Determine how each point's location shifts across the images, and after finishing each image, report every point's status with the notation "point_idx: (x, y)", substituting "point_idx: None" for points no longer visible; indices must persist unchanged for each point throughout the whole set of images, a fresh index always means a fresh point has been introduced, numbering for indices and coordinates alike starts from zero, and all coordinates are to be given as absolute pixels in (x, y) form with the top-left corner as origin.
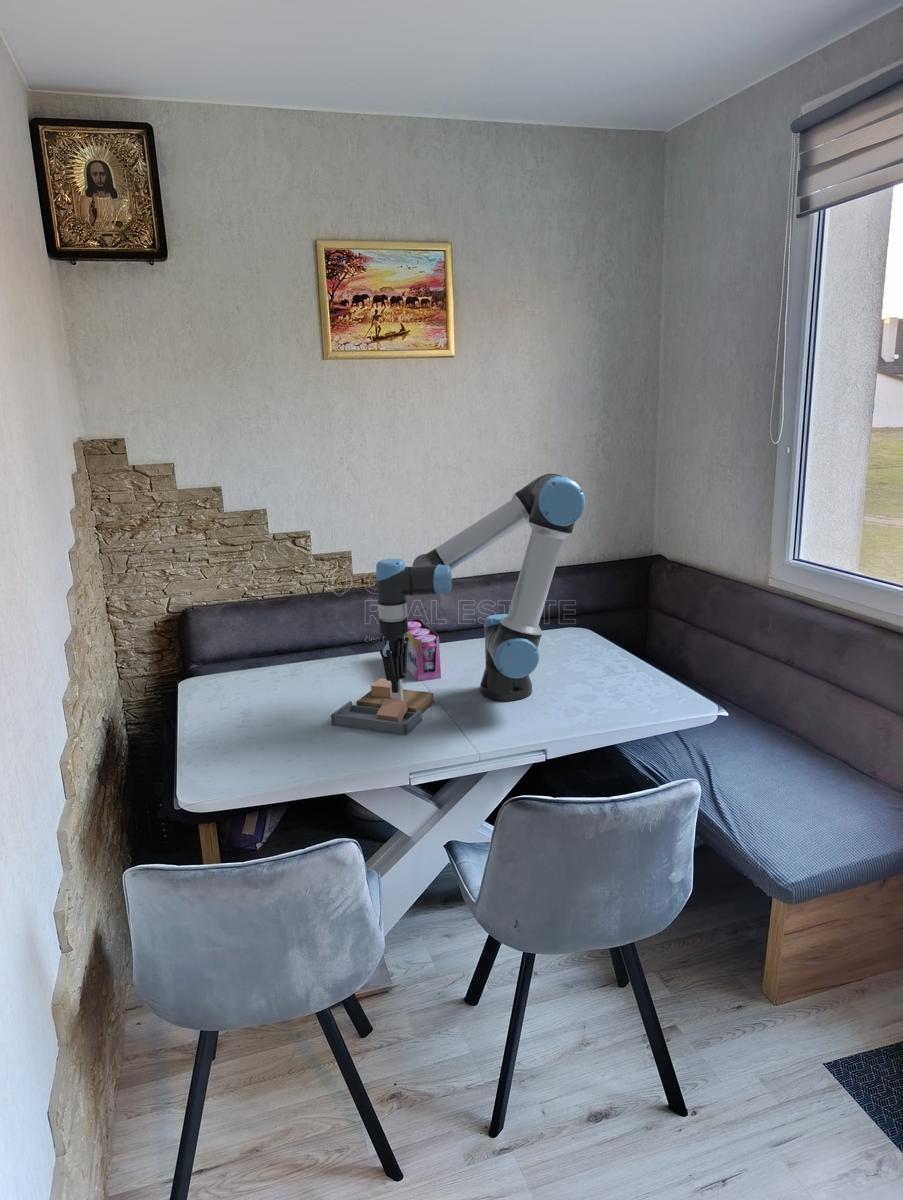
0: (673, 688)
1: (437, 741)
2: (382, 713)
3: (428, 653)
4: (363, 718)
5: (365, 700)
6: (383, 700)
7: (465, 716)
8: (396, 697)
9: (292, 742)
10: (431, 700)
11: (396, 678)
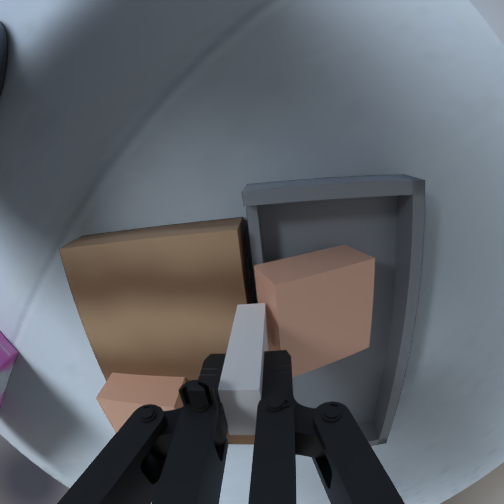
0: None
1: (400, 41)
2: (363, 329)
3: None
4: (404, 364)
5: None
6: None
7: (138, 50)
8: (267, 341)
9: (471, 417)
10: (89, 238)
11: (293, 417)
